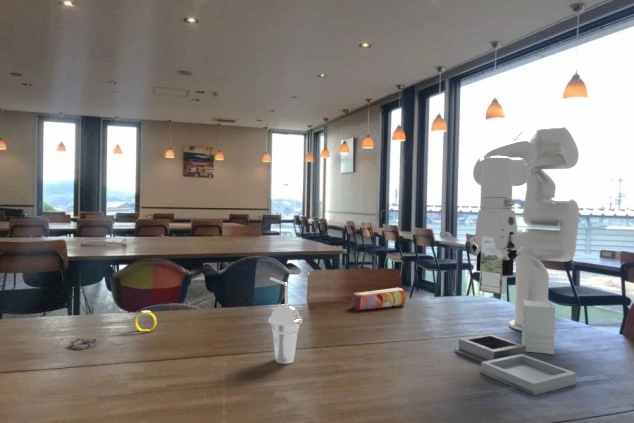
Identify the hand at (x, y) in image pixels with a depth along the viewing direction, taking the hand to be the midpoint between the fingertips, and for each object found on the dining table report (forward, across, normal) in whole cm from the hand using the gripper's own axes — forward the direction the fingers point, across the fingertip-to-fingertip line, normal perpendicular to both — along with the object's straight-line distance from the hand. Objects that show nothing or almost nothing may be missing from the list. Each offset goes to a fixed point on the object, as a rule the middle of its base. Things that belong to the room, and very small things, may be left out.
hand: (494, 272), depth 119 cm
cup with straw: (+22, +19, +50) cm, 58 cm away
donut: (+22, +51, +94) cm, 110 cm away
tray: (+22, -14, +5) cm, 26 cm away
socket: (+22, 0, 0) cm, 22 cm away
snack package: (+22, +57, -5) cm, 62 cm away
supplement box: (+22, -1, -16) cm, 27 cm away
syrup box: (+5, 0, 0) cm, 5 cm away
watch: (+22, +59, +77) cm, 100 cm away
